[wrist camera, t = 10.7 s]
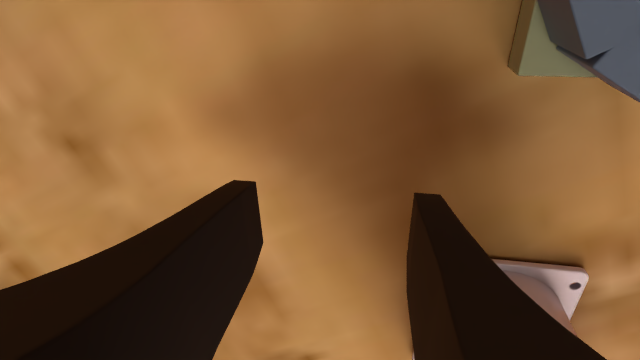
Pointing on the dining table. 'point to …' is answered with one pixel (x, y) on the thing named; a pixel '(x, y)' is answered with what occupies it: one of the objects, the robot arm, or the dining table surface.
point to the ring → (599, 38)
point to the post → (539, 48)
